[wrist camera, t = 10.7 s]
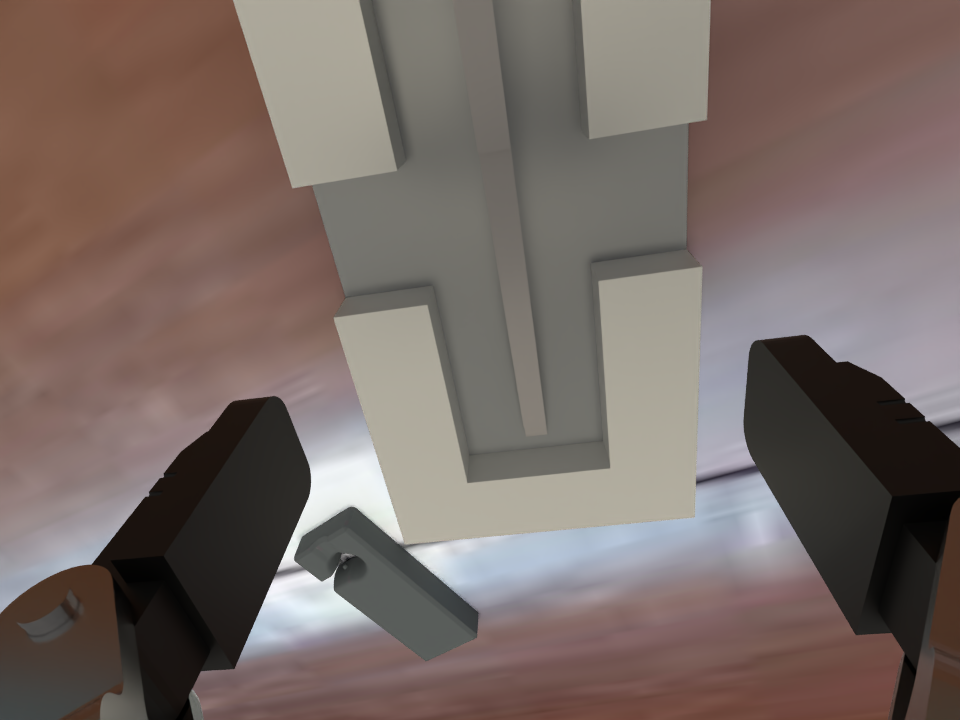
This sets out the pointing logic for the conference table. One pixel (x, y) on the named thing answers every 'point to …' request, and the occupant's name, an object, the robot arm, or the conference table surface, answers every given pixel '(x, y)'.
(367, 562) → the bracket
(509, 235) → the caliper
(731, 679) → the conference table surface
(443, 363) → the case insert
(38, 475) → the conference table surface
